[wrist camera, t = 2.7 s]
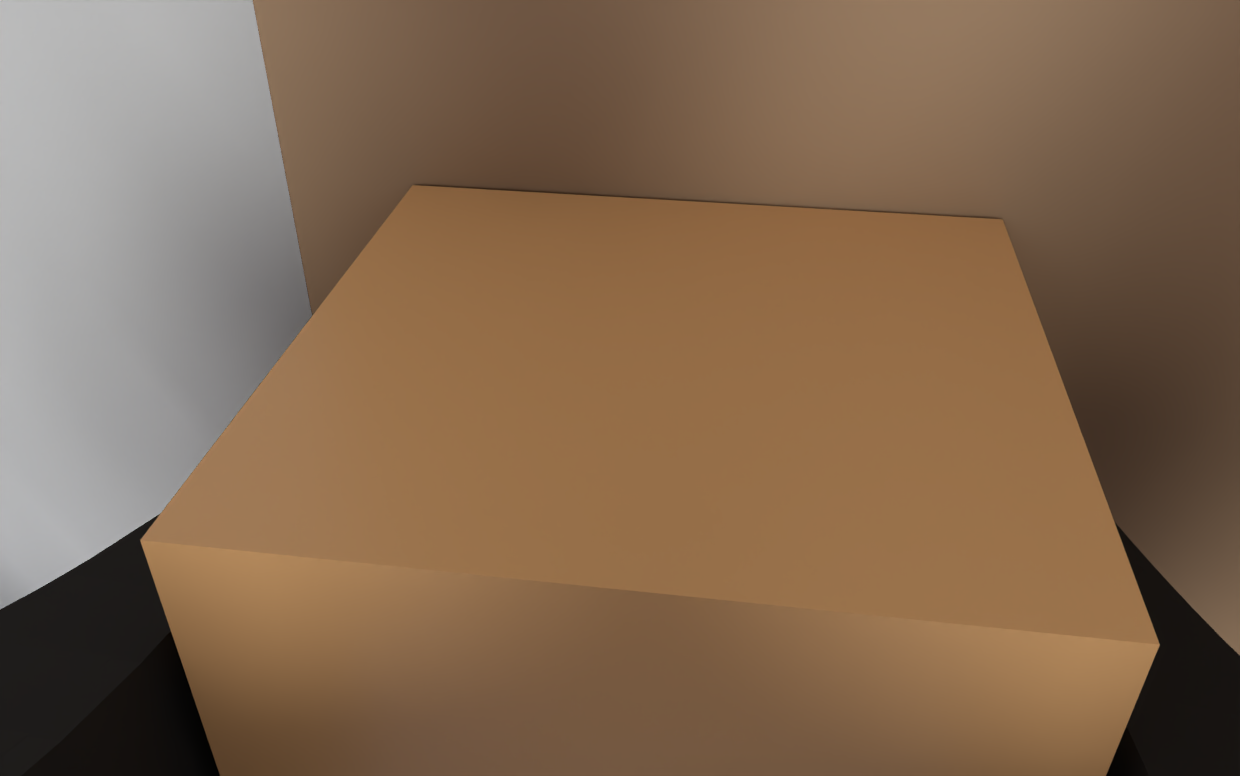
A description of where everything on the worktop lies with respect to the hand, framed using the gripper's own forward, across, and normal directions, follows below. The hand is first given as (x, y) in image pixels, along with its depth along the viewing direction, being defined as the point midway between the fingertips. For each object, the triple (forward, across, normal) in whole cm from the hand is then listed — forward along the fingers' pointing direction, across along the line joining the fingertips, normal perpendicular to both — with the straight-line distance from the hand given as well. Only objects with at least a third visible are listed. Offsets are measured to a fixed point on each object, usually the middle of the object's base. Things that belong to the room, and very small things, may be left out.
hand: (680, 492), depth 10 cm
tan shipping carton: (+1, 0, 0) cm, 1 cm away
